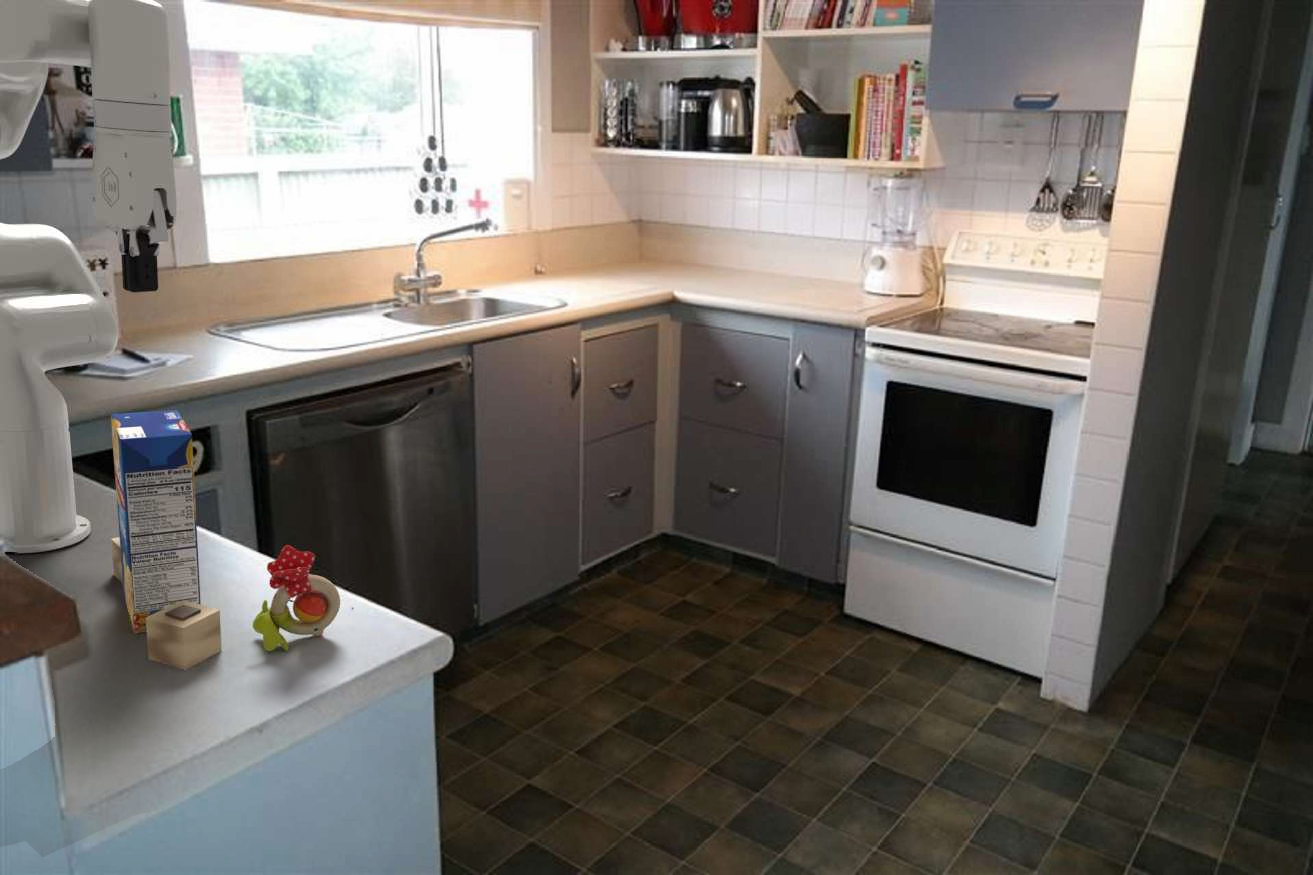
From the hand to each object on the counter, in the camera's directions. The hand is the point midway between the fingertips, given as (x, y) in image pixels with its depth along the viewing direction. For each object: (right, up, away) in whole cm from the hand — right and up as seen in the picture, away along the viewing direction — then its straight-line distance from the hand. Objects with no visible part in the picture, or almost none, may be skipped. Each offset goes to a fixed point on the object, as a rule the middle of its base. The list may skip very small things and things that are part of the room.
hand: (140, 290), depth 120 cm
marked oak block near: (+8, -40, -7) cm, 41 cm away
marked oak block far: (-5, -34, +11) cm, 36 cm away
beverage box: (+1, -36, +3) cm, 37 cm away
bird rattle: (+18, -39, -2) cm, 43 cm away
